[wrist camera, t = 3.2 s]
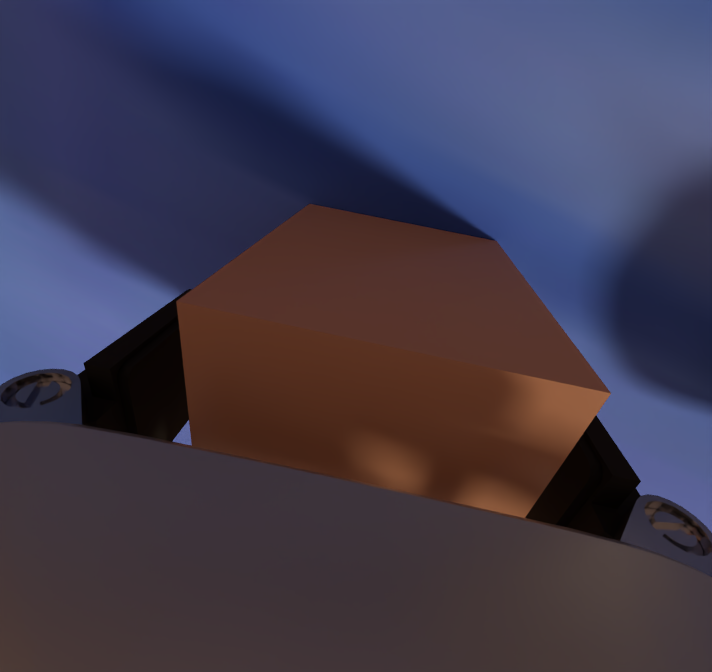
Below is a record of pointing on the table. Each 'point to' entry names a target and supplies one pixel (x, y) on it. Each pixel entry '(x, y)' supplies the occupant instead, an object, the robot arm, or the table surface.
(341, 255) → the peach colored cube
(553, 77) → the table surface
